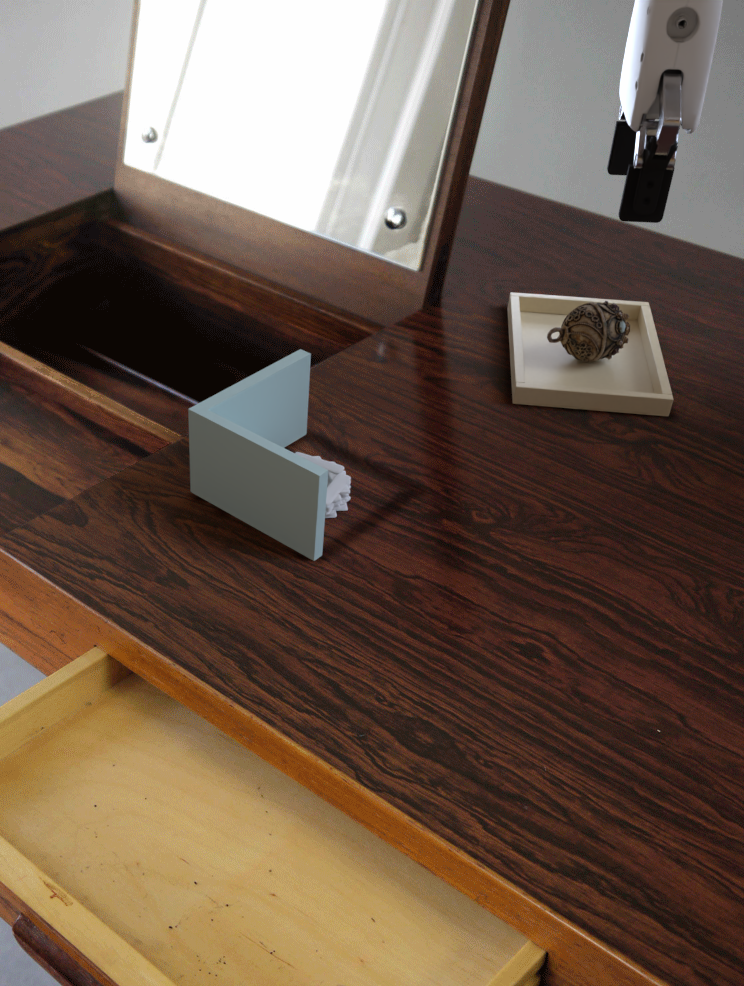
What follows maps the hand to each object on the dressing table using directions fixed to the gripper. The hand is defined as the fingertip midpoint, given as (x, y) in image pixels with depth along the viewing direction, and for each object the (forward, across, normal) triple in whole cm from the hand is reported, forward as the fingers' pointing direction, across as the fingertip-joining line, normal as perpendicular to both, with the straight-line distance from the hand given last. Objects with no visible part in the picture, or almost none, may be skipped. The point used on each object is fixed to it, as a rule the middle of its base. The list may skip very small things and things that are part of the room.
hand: (632, 196), depth 89 cm
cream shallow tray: (+15, 0, +1) cm, 15 cm away
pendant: (+14, 0, +1) cm, 14 cm away
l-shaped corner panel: (+15, -24, +23) cm, 36 cm away
